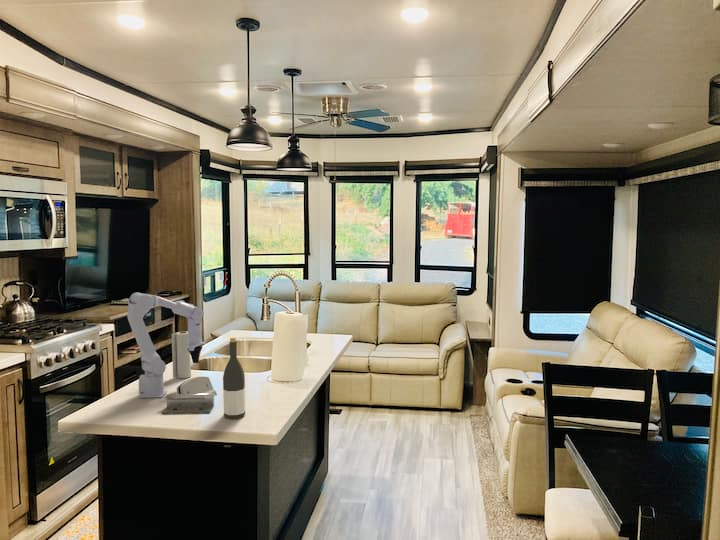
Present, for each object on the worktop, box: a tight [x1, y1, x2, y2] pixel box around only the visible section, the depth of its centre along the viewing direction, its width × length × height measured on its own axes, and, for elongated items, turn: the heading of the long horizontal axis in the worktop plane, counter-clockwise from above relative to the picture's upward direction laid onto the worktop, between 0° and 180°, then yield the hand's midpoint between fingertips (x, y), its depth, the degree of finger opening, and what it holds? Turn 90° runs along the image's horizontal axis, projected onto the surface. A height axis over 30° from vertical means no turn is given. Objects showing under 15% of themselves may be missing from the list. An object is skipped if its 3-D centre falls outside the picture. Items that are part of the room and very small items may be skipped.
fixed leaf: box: [161, 393, 215, 415], centre depth 214 cm, size 18×8×5 cm, turn 93°
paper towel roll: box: [171, 330, 192, 379], centre depth 257 cm, size 7×6×21 cm
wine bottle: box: [222, 336, 246, 420], centre depth 207 cm, size 8×8×30 cm
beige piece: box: [176, 376, 218, 397], centre depth 227 cm, size 17×5×10 cm, turn 150°
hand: (195, 362), depth 246 cm, fingers closed
